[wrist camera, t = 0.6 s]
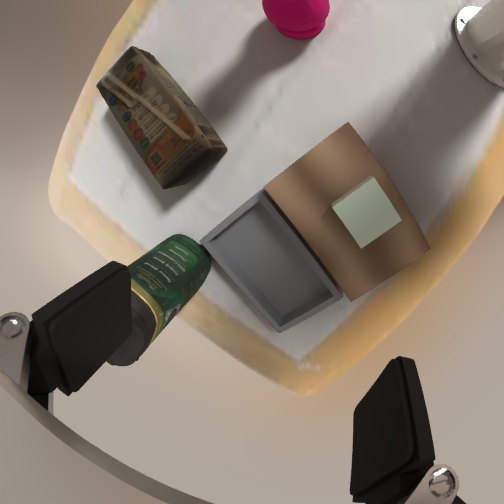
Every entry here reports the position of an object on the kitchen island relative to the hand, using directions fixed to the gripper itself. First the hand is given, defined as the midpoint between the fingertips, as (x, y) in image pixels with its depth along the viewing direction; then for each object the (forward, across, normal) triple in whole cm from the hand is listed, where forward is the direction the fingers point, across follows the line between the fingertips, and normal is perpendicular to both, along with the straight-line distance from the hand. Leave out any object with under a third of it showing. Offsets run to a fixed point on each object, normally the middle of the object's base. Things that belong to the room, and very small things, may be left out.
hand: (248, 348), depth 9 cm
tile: (+22, -6, -2) cm, 22 cm away
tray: (+26, +2, +9) cm, 28 cm away
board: (+26, -5, -1) cm, 27 cm away
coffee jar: (+26, +14, +14) cm, 33 cm away
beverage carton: (+27, +20, -7) cm, 34 cm away
